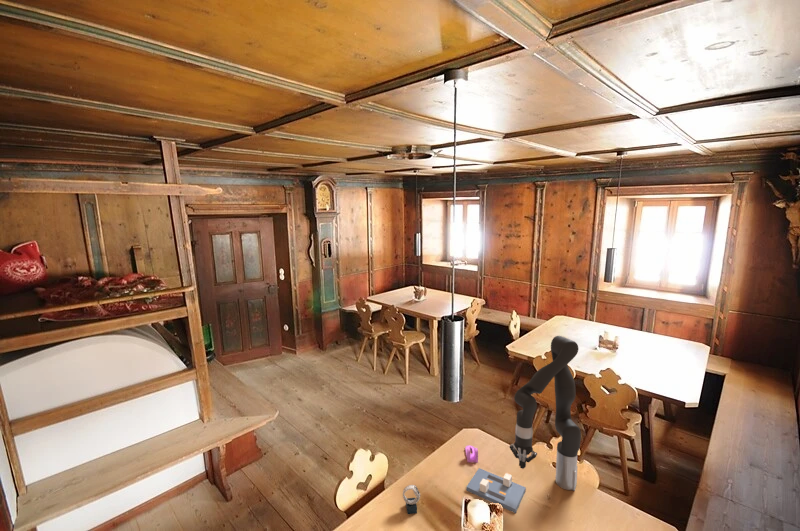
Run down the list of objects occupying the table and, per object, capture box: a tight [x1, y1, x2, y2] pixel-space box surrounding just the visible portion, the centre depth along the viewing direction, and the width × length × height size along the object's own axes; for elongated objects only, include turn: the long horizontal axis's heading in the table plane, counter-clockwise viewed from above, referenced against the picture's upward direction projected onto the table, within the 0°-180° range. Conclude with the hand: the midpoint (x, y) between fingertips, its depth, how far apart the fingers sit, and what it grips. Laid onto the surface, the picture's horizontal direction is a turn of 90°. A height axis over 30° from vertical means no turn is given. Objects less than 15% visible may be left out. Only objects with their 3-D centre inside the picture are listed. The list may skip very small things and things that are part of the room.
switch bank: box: [465, 467, 527, 514], centre depth 169 cm, size 24×16×2 cm, turn 55°
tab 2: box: [502, 472, 513, 487], centre depth 171 cm, size 3×4×4 cm
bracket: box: [464, 444, 479, 463], centre depth 196 cm, size 13×6×7 cm, turn 177°
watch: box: [402, 484, 421, 515], centre depth 158 cm, size 6×8×11 cm
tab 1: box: [480, 479, 489, 493], centre depth 167 cm, size 3×4×4 cm
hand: (522, 467), depth 166 cm, fingers closed
